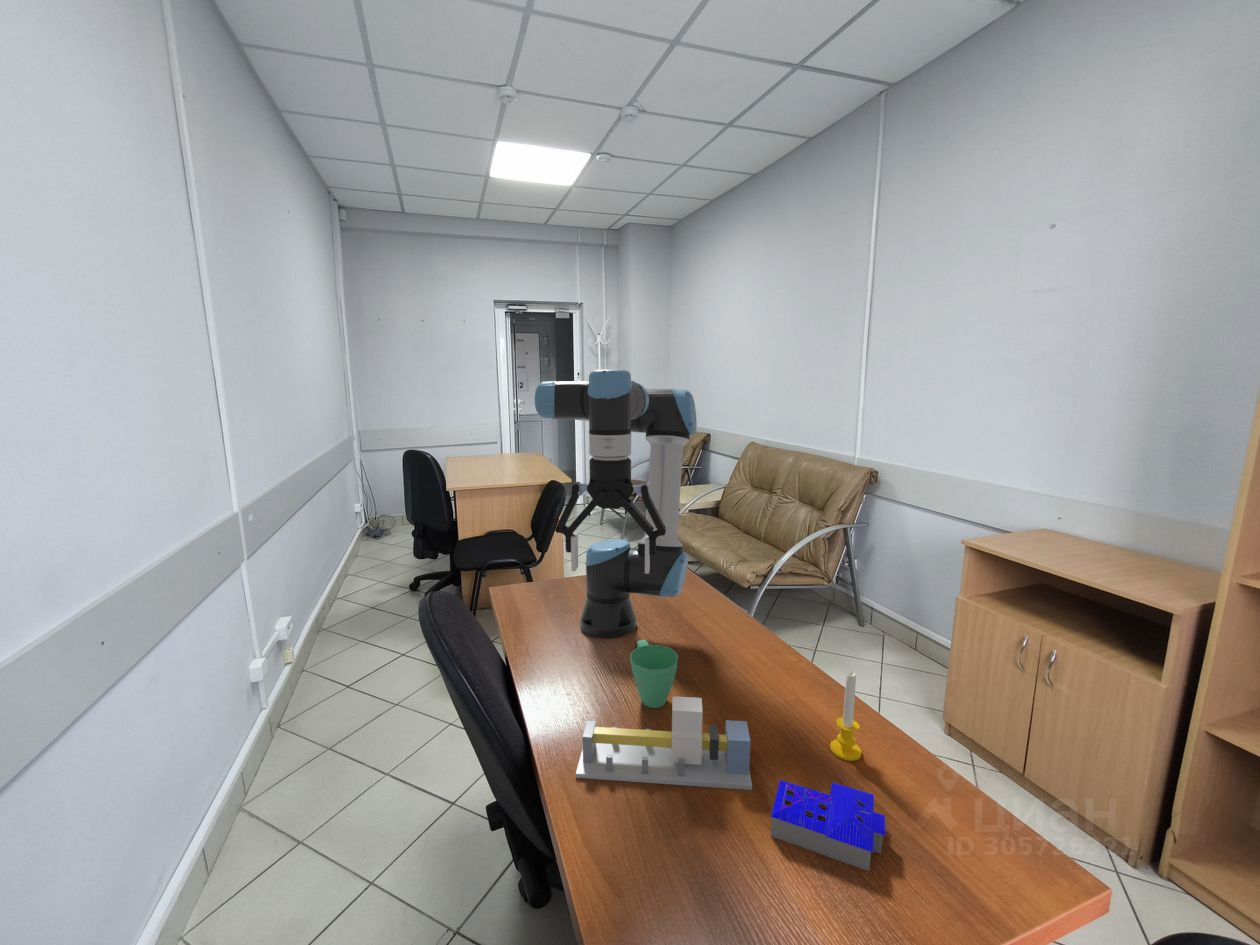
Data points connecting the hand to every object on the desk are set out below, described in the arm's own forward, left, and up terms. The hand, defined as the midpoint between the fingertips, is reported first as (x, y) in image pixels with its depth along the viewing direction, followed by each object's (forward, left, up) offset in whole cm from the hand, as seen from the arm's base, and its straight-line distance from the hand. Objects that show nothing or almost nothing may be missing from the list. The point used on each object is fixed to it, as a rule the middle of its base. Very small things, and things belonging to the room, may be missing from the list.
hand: (610, 570), depth 99 cm
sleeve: (+11, +14, -29) cm, 34 cm away
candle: (+5, +43, -31) cm, 53 cm away
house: (+22, +35, -31) cm, 52 cm away
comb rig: (+11, +11, -31) cm, 34 cm away
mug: (-9, +7, -31) cm, 33 cm away
